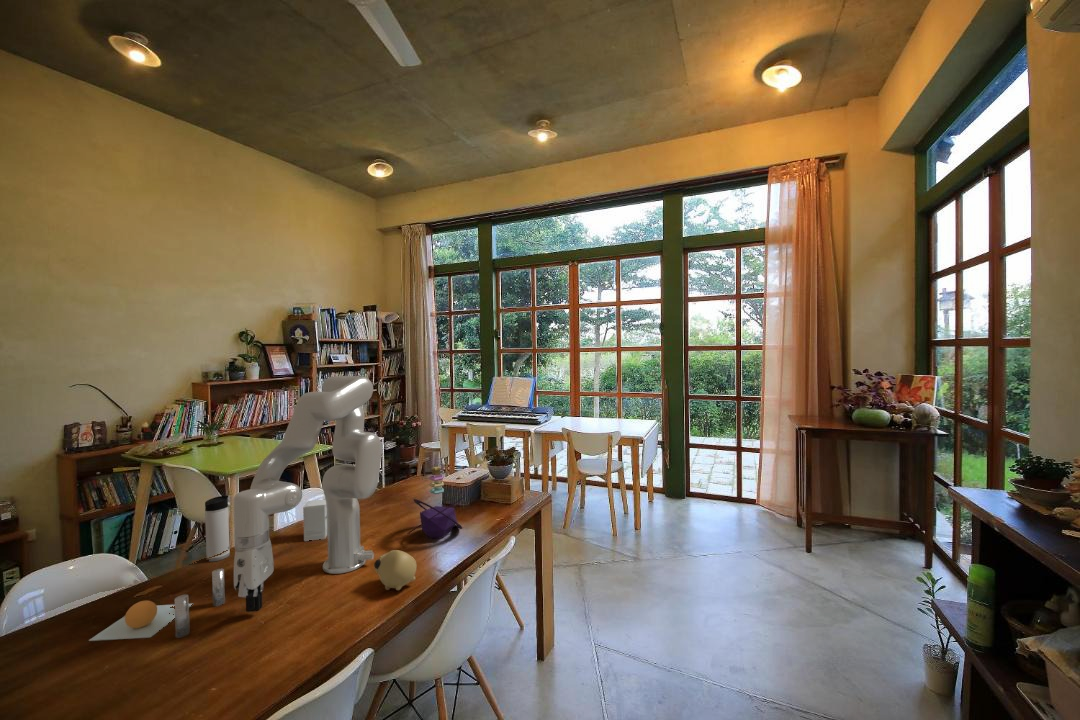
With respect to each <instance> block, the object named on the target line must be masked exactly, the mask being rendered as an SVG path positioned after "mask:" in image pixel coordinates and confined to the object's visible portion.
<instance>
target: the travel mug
mask: <svg viewBox="0 0 1080 720" xmlns="http://www.w3.org/2000/svg"><path fill="white" fill-rule="evenodd" d="M204 509H205V510H204V515H205V517H204V520H205V521H204V522H205V524H204V525H205V547H206V549H205V550H206V559H207V558H209V557H212V556H214V555H217V554H220V553H222V552H223V551H226V550H228V551H226V552H224V553H222V554H221V555H218V556H215V557H212V558H209V559H211V560H209V561H208V562H218V561H222V560H224V559H227V558H228V557H230V554H231V552H230V551H231V550H230V549H231V548H230V547H231V546H230V521H229V520H230V517H229V516H230V515H229V495H228V494H222V495H221V496H215V497H212V498H210V499H207V500H206V501H205V502H204Z"/></svg>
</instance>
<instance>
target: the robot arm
mask: <svg viewBox="0 0 1080 720" xmlns="http://www.w3.org/2000/svg"><path fill="white" fill-rule="evenodd" d="M373 393H374V385H373V383H372V381H371V380H370V379H369V378H368V377H366V376H360V375H336V376H330V377H328V378H326V379H324V381H323V383H322V391H310V392H309V391H308V392H305V393H304V394H301V396H300V397H299V398H298V400H297V402H296V405H295V407H294V409H293V412H292V415H291V417H290V420H289V422H288V425H287V428H286V431H285V432H284V435H283V437H282V440H281V441H280V442H279V444H278V445H277V446H275V447H274V448H273V449H272V450H271V451H270V453H269V454H268V455H267V456H266V457H265V458H264V459H263V461H261V463H260V465H259V466H258V468H257V469H256V472H255V474H254V477H253V479H252V481H251V485H250V488H249V489H246V490H241V491H240V492H238V493H236V494H235V495H234V497H233V500H232V506H233V507H232V508H233V509H232V510H233V537H234V540H233V541H234V542H233V543H234V545H233V546H234V550H235V551H234V557H233V558H234V559H233V588H234V590H235V591H238V592H237V593H238V594H237V596H238V598H245V611H246V612H247V613H249V612H251V613H252V612H260V610H261V609H262V608H263V591H264V582H265V581H266V580H267V579H268V578H269V577H270V576H271V575H273V572H274V571H275V569H274V567H275V566H274V555H273V554H274V553H273V547H272V542H271V538H270V518H269V517H270V515H274V514H279V513H285V512H288V511H291V510H292V509H294V508H296V507H297V506H299V504H300V503H301V501H302V498H303V490H302V489H301V487H300V486H299V485H297V484H295V483H292V482H287V481H280V479H281V476H282V474H283V473H284V470H285V469H286V468H287V467H288V466H289V465H290V464H291V463H292V462H293V461H295V460H296V459H297V458H300V457H302V456H304V455H306V454H307V453H309V452H311V451H313V450H314V449H315V447H316V444H317V441H318V439H319V436H320V433H321V430H322V427H323V425H324V421H325V422H335V428H334V434H333V441H332V456H333V457H335V459H338V460H339V461H344V462H354V463H355V464H354V465H350V464H349V465H348V464H338V465H334V466H331V467H329V468H328V469H327V470H326V471H325V473H324V474H323V477H322V483H321V484H322V490H323V495H324V498H325V499H326V507H327V536H326V539H327V560H325V561H324V562H323V563H322V570H323V571H324V572H325V573H327V574H334V575H337V574H338V575H339V574H344V573H346V574H347V573H349V572H352V571H355V570H357V569H359V568H361V567H362V566H363V565H364V564H366V562H367V560H374V558H375V553H374V552H373V550H365V548H364V545H361V521H360V519H361V517H360V514H361V511H360V504H359V500H365V499H368V498H371V496H372V495H374V493H375V492H376V490H377V487H378V484H379V480H380V479H379V478H380V470H381V465H382V464H381V463H382V462H381V461H382V454H383V453H382V452H383V444H382V441H381V439H380V437H379V436H378V435H377V434H375V433H374V432H370V431H365V429H364V428H365V419H366V417H365V410H364V408H363V406H364V405H365V404H366V403H367V402H368V401H369V400H370V399H371V397H372V396H373Z"/></svg>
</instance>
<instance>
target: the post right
mask: <svg viewBox="0 0 1080 720" xmlns="http://www.w3.org/2000/svg"><path fill="white" fill-rule="evenodd" d="M211 576H212V577H211V579H212V580H211V582H212V606H213V607H215V606H216V607H221V606H222V604H223V605H224V604H225V603H226V596H225V594H226V593H225V591H226V590H225V569H224V568H217V569H215V570H212V571H211Z"/></svg>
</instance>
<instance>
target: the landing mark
mask: <svg viewBox="0 0 1080 720" xmlns="http://www.w3.org/2000/svg"><path fill="white" fill-rule="evenodd" d="M192 604H193V603H189V608H190V607H192V606H193V605H192ZM191 605H192V606H191ZM156 606H157V614H156V616H155V618H154V619H153V620H152V621H151V622H150V623H149V624H148V625H146V626H144V627H141V628H131V627H129V626H128V625H127V624H126V623H125V615H124V616H122V618H120V619H118V620H117V621H115V622H113V623H112V624H110V625H109V626H108V627H107V628H105V629H103V630H101V631H100V632H99V633H97V634H96V635H94V636H92V638H91V637H90V639H88V641H89V642H95V641H96V642H97V641H113V640H124V639H125V640H127V639H128V640H131V639H146V638H147V639H148V638H152V637H153V636H155V635H156V634H157V633H158V632H160V631H161V630H162V629H163V627H164V628H165V627H166V626H167V625H169V624H170V623H171V622H173V621H174V620H175V619H174V618H175V609H174V608H170V607H172V606H173V607H174V606H175V604H162V605H161V604H160V605H159V604H158V605H157V604H156ZM169 613H170V614H169ZM173 614H174V615H173ZM173 619H174V620H173ZM172 620H173V621H172ZM169 622H170V623H169ZM168 623H169V624H168ZM159 630H160V631H159Z"/></svg>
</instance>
